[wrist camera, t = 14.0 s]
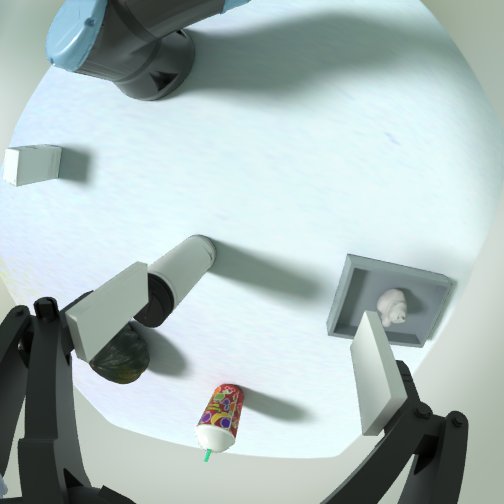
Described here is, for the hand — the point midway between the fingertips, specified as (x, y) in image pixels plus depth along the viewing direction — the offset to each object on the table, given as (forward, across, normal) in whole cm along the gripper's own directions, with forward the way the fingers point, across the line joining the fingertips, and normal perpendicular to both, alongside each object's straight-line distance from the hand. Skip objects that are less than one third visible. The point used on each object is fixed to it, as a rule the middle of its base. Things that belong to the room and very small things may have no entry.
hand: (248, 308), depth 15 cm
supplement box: (+29, -53, +5) cm, 61 cm away
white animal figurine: (+28, +21, -11) cm, 37 cm away
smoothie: (+29, -4, -42) cm, 51 cm away
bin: (+29, +21, -11) cm, 37 cm away
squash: (+29, -30, -35) cm, 54 cm away
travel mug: (+29, -13, -9) cm, 33 cm away
